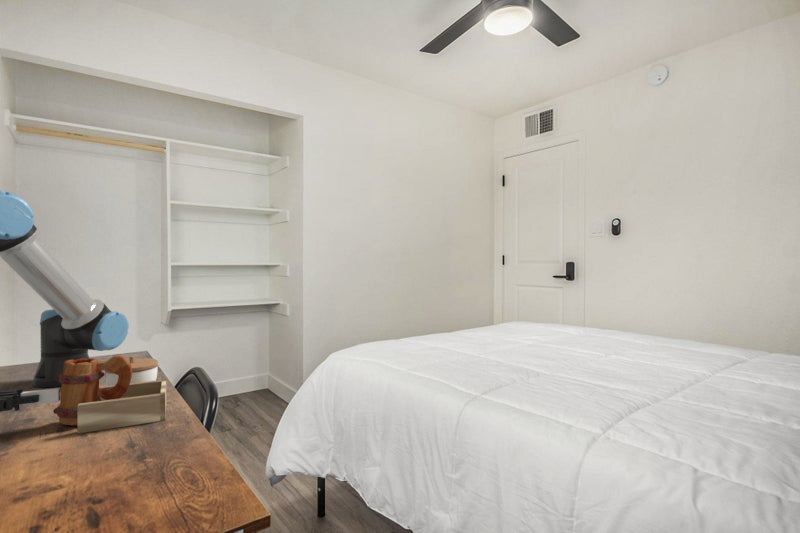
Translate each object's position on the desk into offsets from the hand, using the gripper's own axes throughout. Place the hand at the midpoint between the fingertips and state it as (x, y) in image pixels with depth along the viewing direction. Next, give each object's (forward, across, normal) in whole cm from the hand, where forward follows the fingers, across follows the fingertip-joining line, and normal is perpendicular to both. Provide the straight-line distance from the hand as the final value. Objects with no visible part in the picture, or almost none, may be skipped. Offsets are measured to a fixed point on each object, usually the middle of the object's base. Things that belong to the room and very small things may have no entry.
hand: (59, 394), depth 95 cm
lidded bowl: (+12, -19, -8) cm, 24 cm away
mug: (+6, 0, -7) cm, 9 cm away
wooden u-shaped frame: (+12, -1, -7) cm, 14 cm away
